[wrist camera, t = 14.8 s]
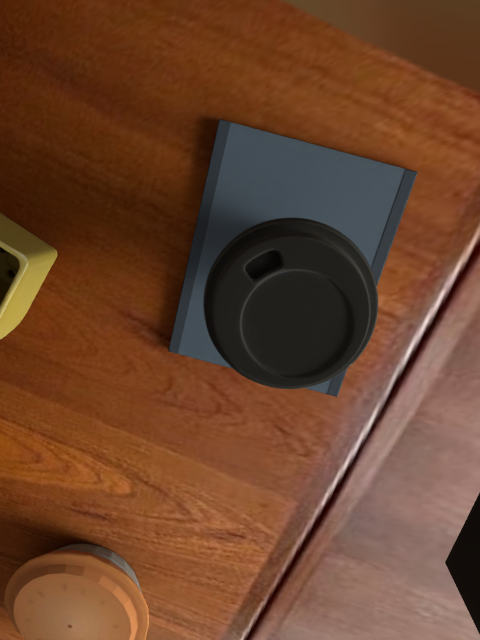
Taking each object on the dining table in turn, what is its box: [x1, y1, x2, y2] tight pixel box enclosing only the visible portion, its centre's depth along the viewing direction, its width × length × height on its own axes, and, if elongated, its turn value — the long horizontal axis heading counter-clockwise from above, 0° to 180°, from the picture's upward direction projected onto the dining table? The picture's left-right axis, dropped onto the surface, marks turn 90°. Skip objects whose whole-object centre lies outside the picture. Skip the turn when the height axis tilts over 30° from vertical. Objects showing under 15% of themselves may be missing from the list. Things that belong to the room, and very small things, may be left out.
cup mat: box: [168, 119, 417, 397], centre depth 35 cm, size 20×16×1 cm
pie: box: [4, 543, 149, 640], centre depth 45 cm, size 15×16×5 cm
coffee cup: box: [203, 217, 378, 389], centre depth 28 cm, size 9×9×15 cm
